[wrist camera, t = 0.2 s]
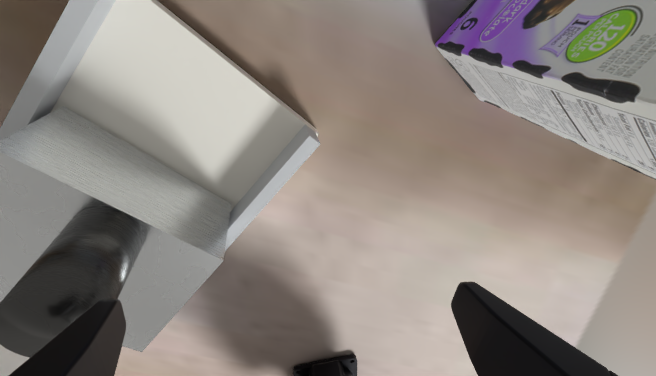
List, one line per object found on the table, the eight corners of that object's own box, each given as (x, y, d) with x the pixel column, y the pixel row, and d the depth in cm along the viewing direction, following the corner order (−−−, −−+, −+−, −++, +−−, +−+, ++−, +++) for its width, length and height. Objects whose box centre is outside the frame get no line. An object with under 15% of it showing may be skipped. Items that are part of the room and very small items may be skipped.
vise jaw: (63, 105, 17) (-156, 224, 8) (231, 203, 21) (211, 350, 12) (0, 212, 19) (-231, 402, 10) (165, 281, 24) (107, 455, 15)
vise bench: (112, -36, 16) (0, -64, 9) (315, 128, 22) (342, 188, 15) (-110, 359, 24) (-255, 500, 17) (78, 401, 30) (25, 518, 23)
